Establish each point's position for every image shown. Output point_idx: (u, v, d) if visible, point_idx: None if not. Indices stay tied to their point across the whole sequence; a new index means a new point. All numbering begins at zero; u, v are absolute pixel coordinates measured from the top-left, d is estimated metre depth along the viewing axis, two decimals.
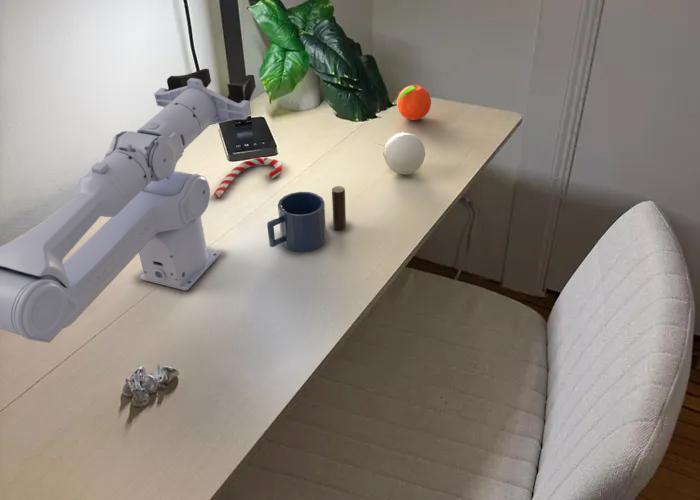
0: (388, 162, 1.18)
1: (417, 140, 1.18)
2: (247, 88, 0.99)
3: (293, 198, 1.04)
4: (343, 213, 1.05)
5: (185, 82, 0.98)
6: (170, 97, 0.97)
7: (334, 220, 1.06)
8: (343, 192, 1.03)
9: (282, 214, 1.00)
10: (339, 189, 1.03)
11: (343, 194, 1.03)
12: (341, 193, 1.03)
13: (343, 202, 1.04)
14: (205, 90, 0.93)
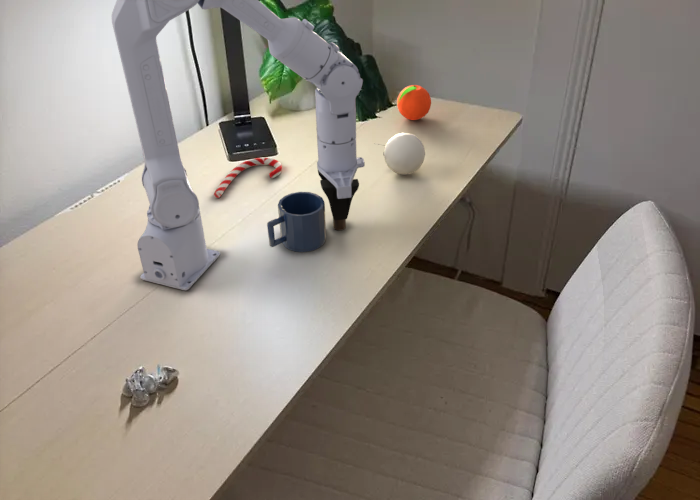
0: (388, 162, 1.18)
1: (417, 140, 1.18)
2: (341, 206, 1.03)
3: (293, 198, 1.04)
4: None
5: None
6: None
7: (334, 220, 1.06)
8: None
9: (282, 214, 1.00)
10: None
11: None
12: None
13: None
14: (356, 166, 1.00)
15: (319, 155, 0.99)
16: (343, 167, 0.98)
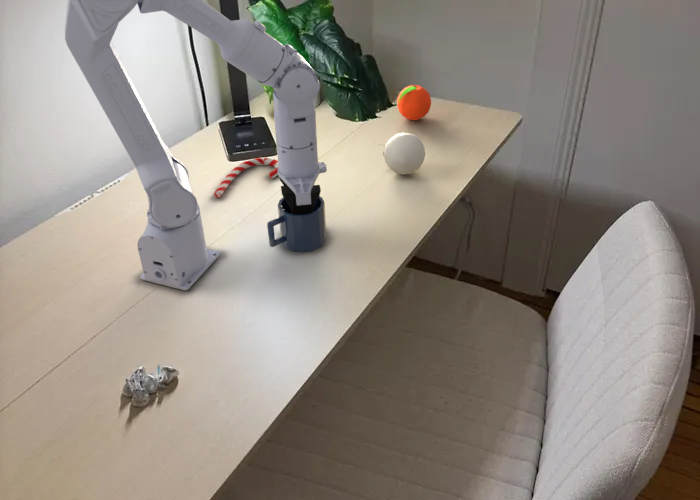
0: (388, 162, 1.18)
1: (417, 140, 1.18)
2: (303, 212, 1.00)
3: None
4: None
5: None
6: None
7: None
8: None
9: (282, 214, 1.00)
10: None
11: None
12: None
13: None
14: (318, 171, 0.97)
15: (279, 160, 0.96)
16: (303, 172, 0.95)
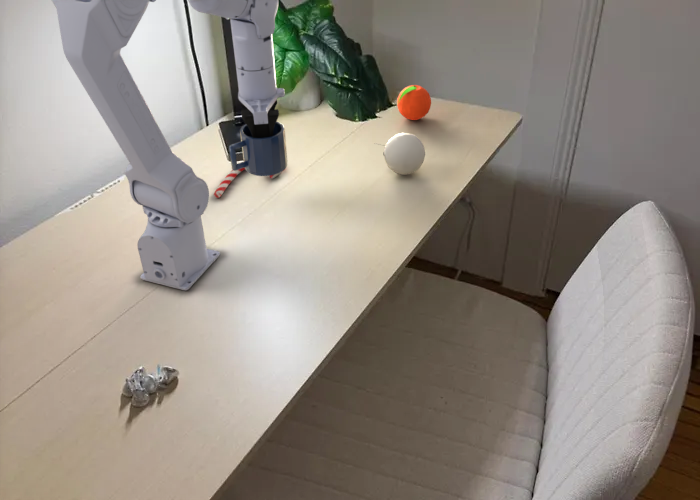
0: (388, 162, 1.18)
1: (417, 140, 1.18)
2: (263, 137, 1.05)
3: None
4: None
5: (270, 107, 1.06)
6: None
7: None
8: None
9: (243, 138, 1.05)
10: None
11: None
12: None
13: None
14: (276, 95, 1.02)
15: (238, 84, 1.01)
16: (262, 95, 1.00)
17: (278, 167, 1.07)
